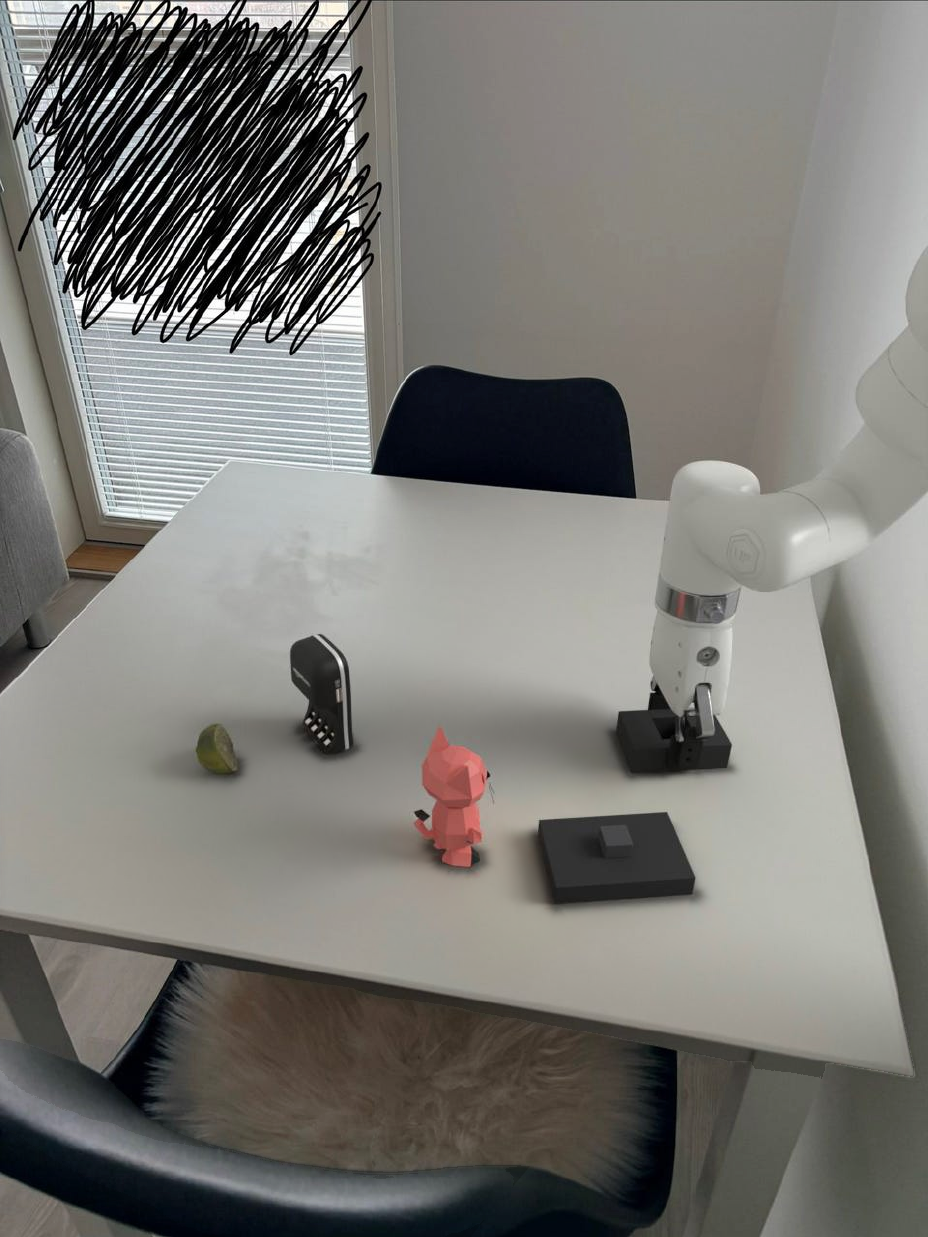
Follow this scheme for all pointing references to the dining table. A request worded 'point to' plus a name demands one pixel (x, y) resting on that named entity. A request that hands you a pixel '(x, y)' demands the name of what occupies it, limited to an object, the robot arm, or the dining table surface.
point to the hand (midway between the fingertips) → (671, 743)
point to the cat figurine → (453, 800)
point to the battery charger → (323, 691)
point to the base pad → (614, 857)
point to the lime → (216, 750)
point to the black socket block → (664, 740)
